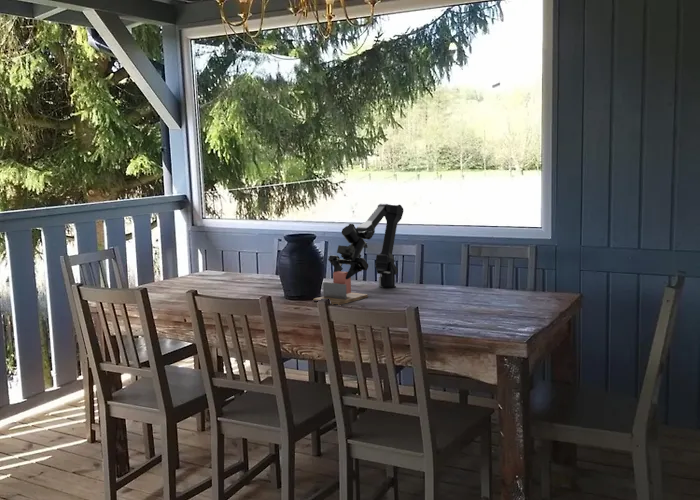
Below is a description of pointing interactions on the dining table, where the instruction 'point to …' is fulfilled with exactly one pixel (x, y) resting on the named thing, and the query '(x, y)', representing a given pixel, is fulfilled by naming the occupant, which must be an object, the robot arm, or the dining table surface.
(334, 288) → the bookend
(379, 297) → the dining table surface
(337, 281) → the salmon pink block
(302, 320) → the dining table surface
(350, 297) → the shelf board
